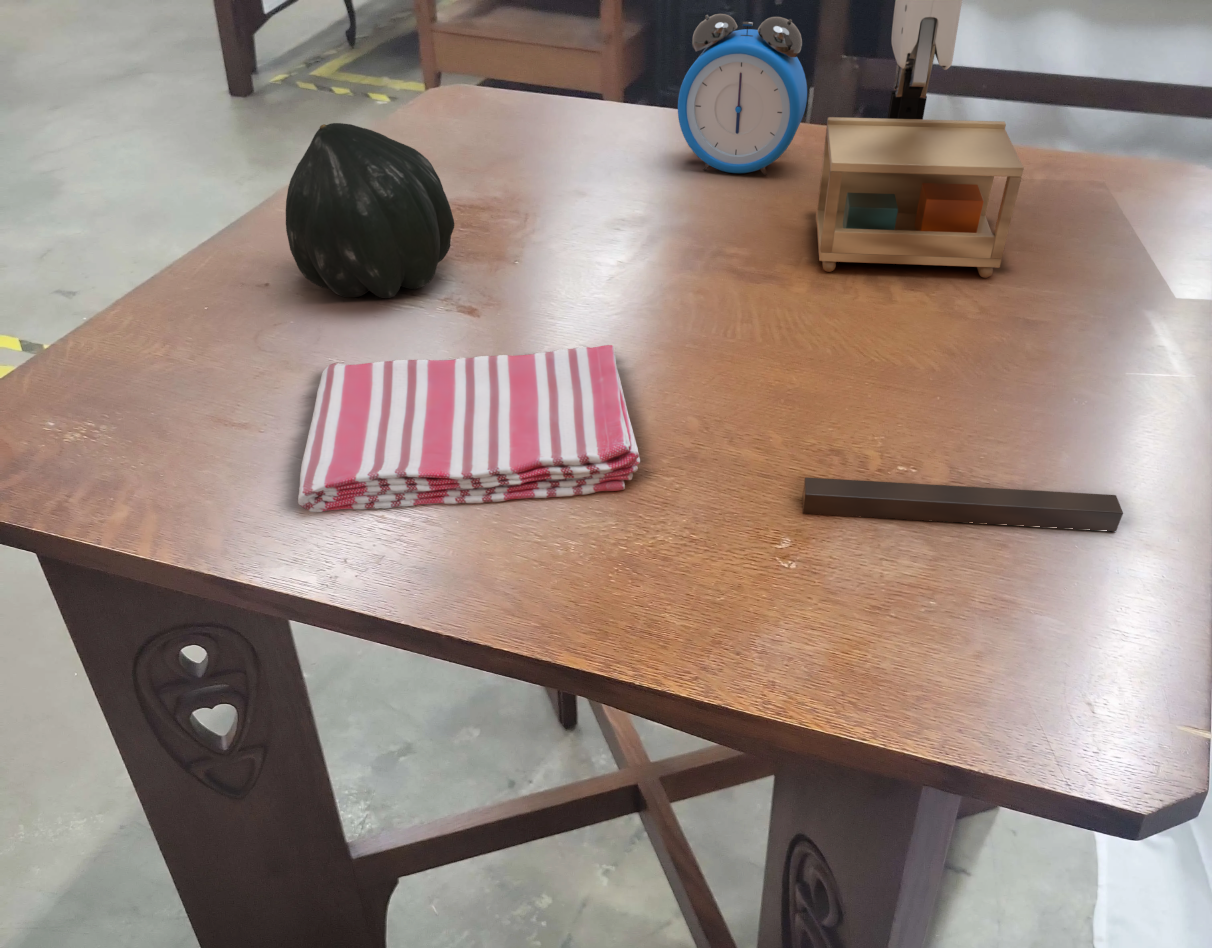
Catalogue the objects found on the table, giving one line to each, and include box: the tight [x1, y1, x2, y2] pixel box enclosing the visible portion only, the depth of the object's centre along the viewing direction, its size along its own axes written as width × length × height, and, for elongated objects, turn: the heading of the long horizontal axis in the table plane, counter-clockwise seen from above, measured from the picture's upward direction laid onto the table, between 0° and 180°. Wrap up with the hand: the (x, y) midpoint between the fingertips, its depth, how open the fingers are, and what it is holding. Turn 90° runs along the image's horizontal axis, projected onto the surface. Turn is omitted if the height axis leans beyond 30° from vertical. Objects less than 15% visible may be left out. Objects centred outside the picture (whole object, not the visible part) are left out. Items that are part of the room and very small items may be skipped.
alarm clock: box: [677, 13, 808, 176], centre depth 113 cm, size 13×6×15 cm, turn 74°
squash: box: [285, 122, 455, 299], centre depth 93 cm, size 14×15×15 cm
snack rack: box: [815, 116, 1025, 279], centre depth 97 cm, size 16×11×10 cm
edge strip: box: [801, 476, 1124, 532], centre depth 69 cm, size 20×2×2 cm, turn 83°
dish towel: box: [297, 344, 641, 513], centre depth 77 cm, size 17×23×4 cm
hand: (901, 136), depth 104 cm, fingers closed
